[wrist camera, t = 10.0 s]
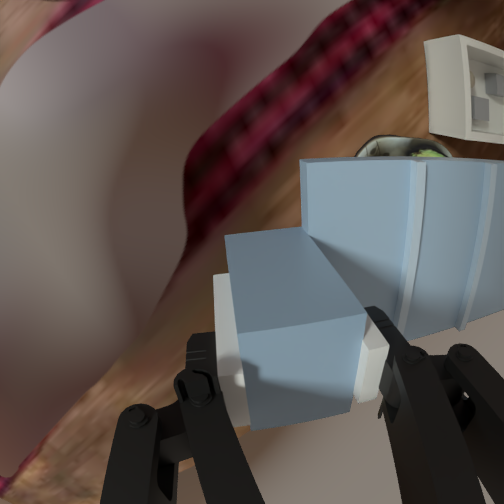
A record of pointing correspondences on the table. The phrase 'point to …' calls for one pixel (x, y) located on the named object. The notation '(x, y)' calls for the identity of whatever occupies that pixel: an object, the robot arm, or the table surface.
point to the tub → (465, 89)
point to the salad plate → (401, 147)
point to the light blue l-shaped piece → (362, 273)
